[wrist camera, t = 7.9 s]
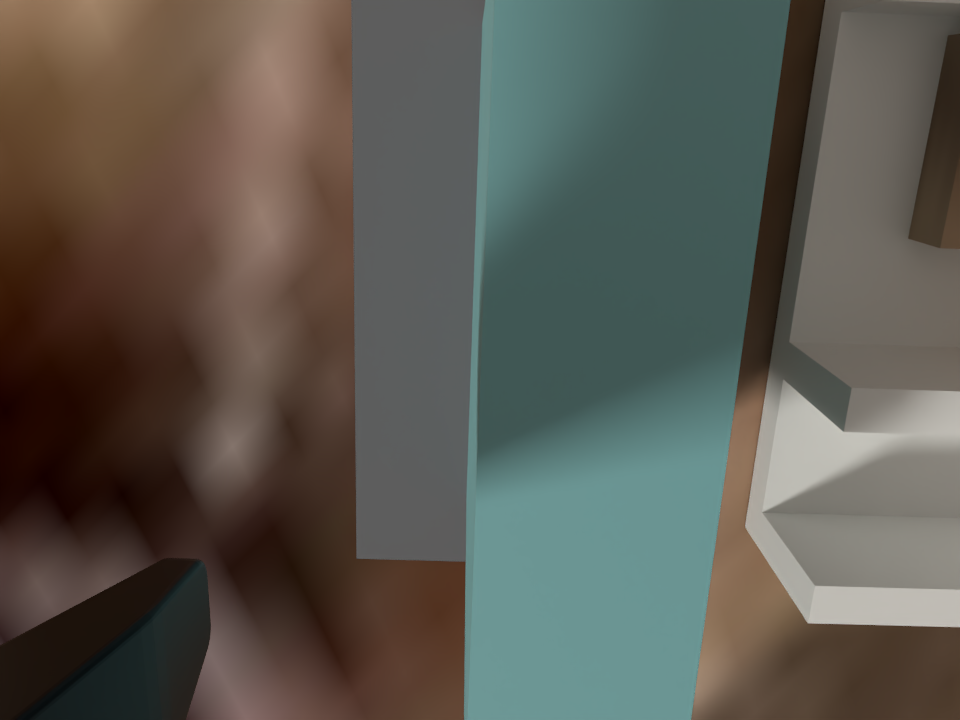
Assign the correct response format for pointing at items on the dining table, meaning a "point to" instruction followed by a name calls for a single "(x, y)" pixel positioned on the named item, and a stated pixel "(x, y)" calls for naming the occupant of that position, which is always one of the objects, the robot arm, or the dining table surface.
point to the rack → (865, 342)
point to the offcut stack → (941, 162)
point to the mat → (414, 270)
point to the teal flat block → (607, 342)
